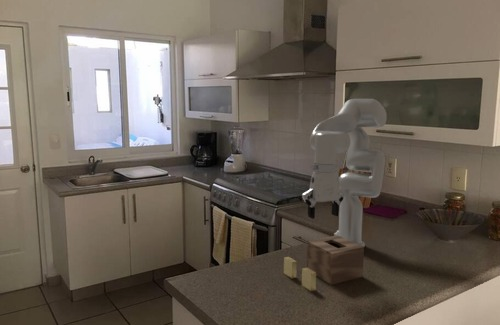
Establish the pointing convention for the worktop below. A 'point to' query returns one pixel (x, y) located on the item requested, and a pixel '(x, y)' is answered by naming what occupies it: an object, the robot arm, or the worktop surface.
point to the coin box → (335, 259)
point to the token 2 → (308, 279)
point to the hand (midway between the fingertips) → (323, 216)
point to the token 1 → (290, 267)
